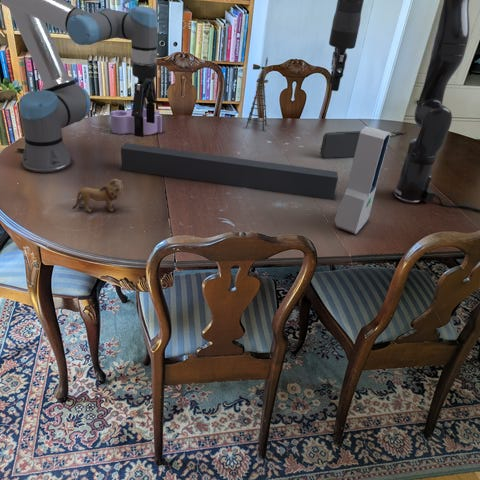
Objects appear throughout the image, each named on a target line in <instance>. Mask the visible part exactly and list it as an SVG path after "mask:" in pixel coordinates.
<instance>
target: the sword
mask: <svg viewBox="0 0 480 480" xmlns="http://www.w3.org/2000/svg"><path fill="white" fill-rule="evenodd" d="M401 132H402V131H396V132H394V131H392V132H390V133H391V135H390V137H393V136H397V135H401V134H402V133H401ZM406 133H407V131H406V132H405V133H404V134H406Z"/></svg>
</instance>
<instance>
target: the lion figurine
mask: <svg viewBox="0 0 480 480" xmlns="http://www.w3.org/2000/svg"><path fill="white" fill-rule="evenodd" d="M109 181H110V182H108V183H107V184H105V185H104V186H103V187H102V188H92V187H88V186H87V187H83V188H81V189H80V190H79V191H78V193H77V195H76V196H77V197H76V201H75V205H74V206H73V207H72V208H71V209H72V210H75V209H77V207H79V208H83V207H84V208H85V210H86V212H89V213H91V212H92V208H89V203H90V199H91V200H94V201H95V202H104V201H105V206H106V207H107V210H108V211H109V212H113V211H114V208H113V207H112V202H113V201H116V200H118V199H119V198H120V197H119V196H121V195H122V194H123V191H124V186H123V181H122V180H120V179H118V178H113V179H110V180H109ZM82 202H84V204H83V203H82Z"/></svg>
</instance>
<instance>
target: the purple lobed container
mask: <svg viewBox="0 0 480 480" xmlns="http://www.w3.org/2000/svg"><path fill="white" fill-rule="evenodd" d="M109 113H110V127H111V128H110V129H111V133H113V134H118V135H124V134H133V135H135V130H134V117H133V116H131V114H132V109H129V110H122V109H118V110H112V111H110V112H109ZM137 113H138V112H137ZM142 116H143V131H144V136H148V135H154V134H157V133H163V115H162V114H160V110H159V109H155V123H147V122H146V108H144V109H143V114H142Z"/></svg>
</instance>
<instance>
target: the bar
mask: <svg viewBox="0 0 480 480" xmlns="http://www.w3.org/2000/svg"><path fill="white" fill-rule="evenodd" d="M120 159H121V170H122V171H126V172H133V173H141V174H149V175H155V176H162V177H170V178H177V179H183V180H190V181H199V182H205V183H213V184H219V185H227V186H233V187H242V188H249V189H256V190H263V191H269V192H275V193H276V192H278V193H284V194H291V195H292V194H293V195H299V196H307V197H313V198H321V199H327V200H334V198H335V193H336V188H337V184H338V179H339V175H338V171H335V170H327V169H319V168H313V167H305V166H299V165H298V166H297V165H289V164H283V163H275V162H270V161H269V162H268V161H261V160H254V159H247V158H239V157H231V156H225V155H218V154H217V155H216V154H209V153H202V152H194V151H188V150H180V149H172V148H166V147H158V146H152V145H151V146H150V145H143V144H135V143H128V142H125V143H124V144H123V146H122V147H120Z"/></svg>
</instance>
